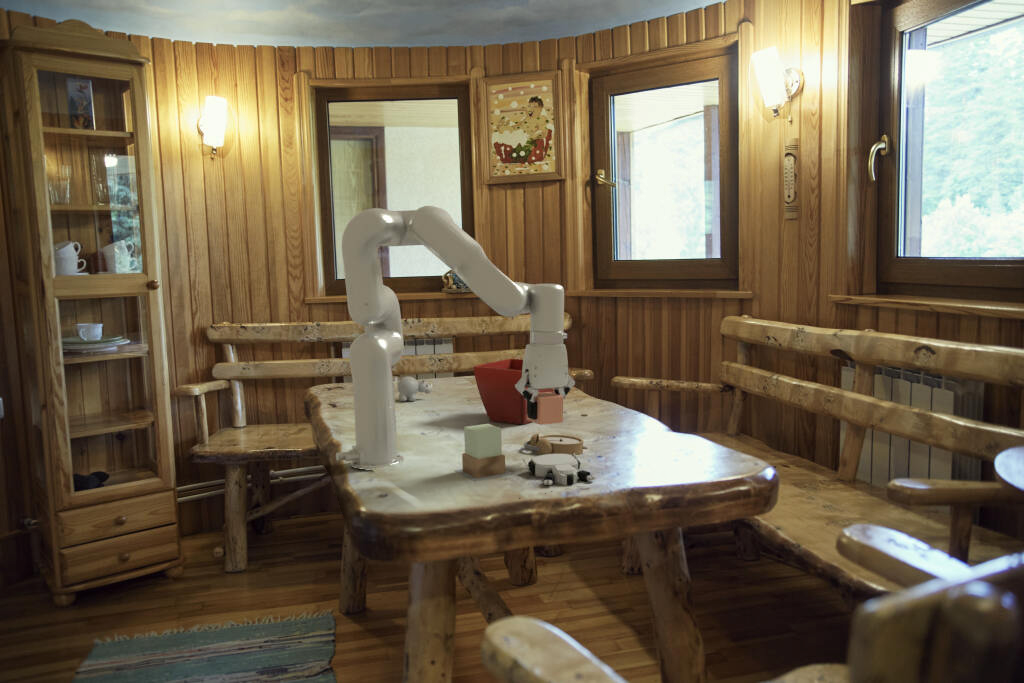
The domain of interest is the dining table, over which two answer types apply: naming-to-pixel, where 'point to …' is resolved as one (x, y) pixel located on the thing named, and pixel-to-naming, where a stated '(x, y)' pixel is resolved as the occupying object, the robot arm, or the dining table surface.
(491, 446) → the sage cube
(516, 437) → the dining table surface
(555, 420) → the terracotta cube
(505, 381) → the plant pot
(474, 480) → the build board
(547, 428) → the dining table surface
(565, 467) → the robot toy
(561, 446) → the alarm clock
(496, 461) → the walnut block
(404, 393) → the round bodied animal figurine
